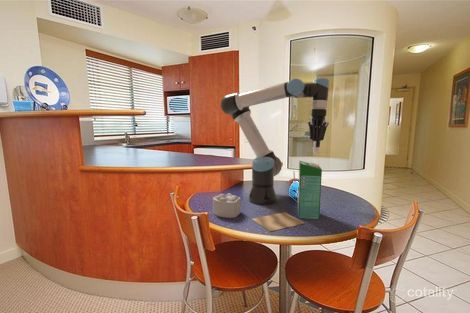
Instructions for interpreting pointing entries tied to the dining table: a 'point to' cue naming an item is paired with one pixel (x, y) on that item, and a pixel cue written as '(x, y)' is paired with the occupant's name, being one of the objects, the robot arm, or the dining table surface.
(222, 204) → the lumpy-topped squat cylinder
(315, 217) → the milk carton
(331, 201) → the dining table surface
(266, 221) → the wooden mat
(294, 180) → the cupcake
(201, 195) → the dining table surface
